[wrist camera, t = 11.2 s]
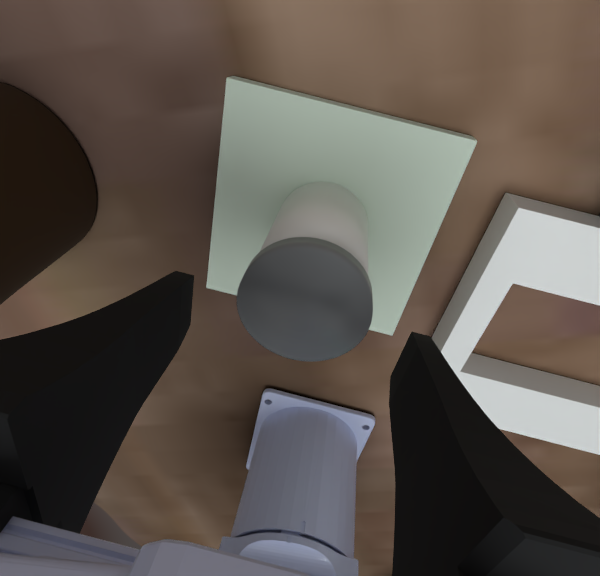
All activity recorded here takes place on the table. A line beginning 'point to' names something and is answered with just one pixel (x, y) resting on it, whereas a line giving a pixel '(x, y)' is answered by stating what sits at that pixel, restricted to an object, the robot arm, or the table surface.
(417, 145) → the mat
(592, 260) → the housing
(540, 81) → the table surface
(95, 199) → the olive oil
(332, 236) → the cylinder
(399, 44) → the table surface
